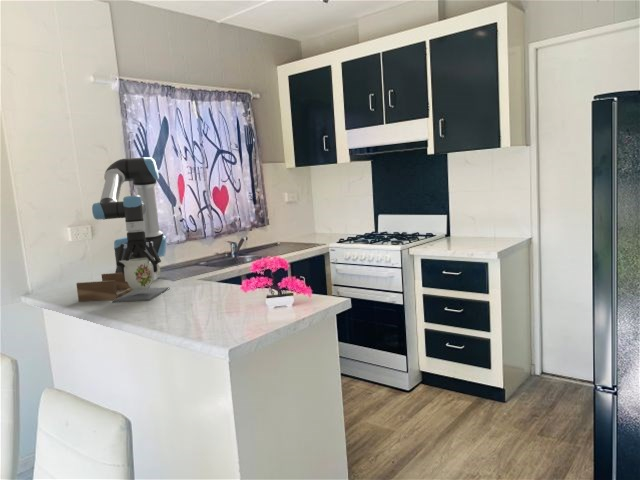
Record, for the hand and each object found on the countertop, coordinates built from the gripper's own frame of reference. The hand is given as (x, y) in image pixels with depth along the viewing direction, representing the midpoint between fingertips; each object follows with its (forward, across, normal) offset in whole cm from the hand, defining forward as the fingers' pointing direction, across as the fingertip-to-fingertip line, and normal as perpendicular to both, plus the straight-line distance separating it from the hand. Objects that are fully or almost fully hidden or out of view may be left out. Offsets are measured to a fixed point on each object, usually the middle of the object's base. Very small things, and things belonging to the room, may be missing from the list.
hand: (140, 280), depth 214 cm
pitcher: (+4, 0, 0) cm, 4 cm away
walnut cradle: (+7, -18, +7) cm, 20 cm away
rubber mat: (+7, 0, 0) cm, 7 cm away
